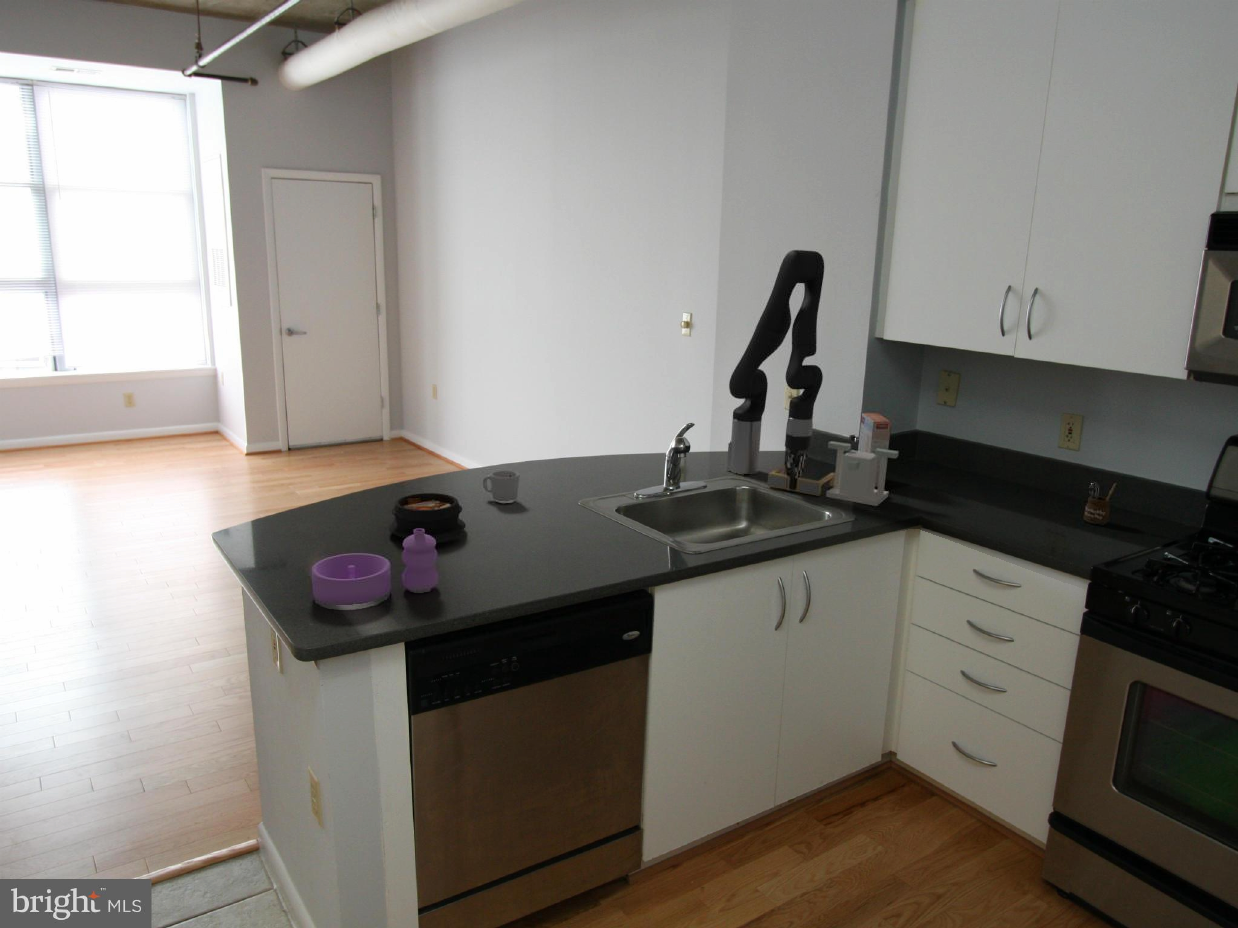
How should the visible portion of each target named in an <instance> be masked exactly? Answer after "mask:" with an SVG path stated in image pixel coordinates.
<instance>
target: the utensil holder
mask: <svg viewBox="0 0 1238 928" xmlns="http://www.w3.org/2000/svg"><path fill="white" fill-rule="evenodd" d="M1094 484H1095V486H1094V487H1095V489H1097V488H1098V489H1097V490H1098V492H1097V493H1095V494H1094V492H1089V494H1090V496H1089V497H1088V500H1087V501H1088V502H1087V503H1086V505H1085V508H1084V509H1085V510H1084V515H1083V521H1084V520H1086V521H1087V522H1090V523H1107V524H1108V521H1109V515H1110V502H1111V501H1110V499H1109V498H1110V496H1111V495H1112V493H1113V492H1114V489H1115V487H1116V485H1117V483H1116V482H1115V483H1113V485H1112V487H1111V489H1110V490H1109V492H1108V496H1107V497H1103V496H1099V493H1100V491H1099V489H1100V487H1099V485H1098V483H1097V482H1092V483H1091V484H1090V485H1089V487H1092V485H1094Z"/></svg>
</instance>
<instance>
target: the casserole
mask: <svg viewBox="0 0 1238 928" xmlns="http://www.w3.org/2000/svg"><path fill="white" fill-rule="evenodd" d="M462 511H463V506H461V505H460V503H459V500H458V499H457V498H456V497H455V496H452V495H449V494H444V493H437V492H436V493H435V492H434V493H433V492H430V493H429V492H426V493H415V494H410V495H405V496H402V497H400V498H398V499H396V501H395V504H394V506H393V508H392V509H391V513H392V515H393V516H394V519H393V521H392V522H391V524H389V526H388V531H389V532H390V533H392V534H393V535H395V536H398V537H400V538H403V539H406V538H407V537H409V536H411V535H414V529H418V528H421V529H424V530H425V533H424V534H427V535H429V536H431V537H433V538H434V539H435V541H436V544H442V543H448V542H452V541H456V540H459V539H461V538H462V537H463V533H464V530H465V529H466V526H467V525H466V523H465V521H463V519H461V518H459V517H460V513H462Z"/></svg>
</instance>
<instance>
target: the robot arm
mask: <svg viewBox="0 0 1238 928" xmlns="http://www.w3.org/2000/svg"><path fill="white" fill-rule="evenodd" d="M824 274H825V261H824V257H823V255H822V254H821V253H819V252H818V251H815V250H804V249H803V250H802V249H793V250H789V252H787V253H786V254H785V255H784V258H783V259H782V261H781V264H780V267H779V270H778V272H777V276H776V278H775V282H774V285H773V287H772V291H771V293H770V296H769V297H768V300H767V302H766V305H765V307H764V310H763V312H762V313H761V316H760V318H759V320H758V322H757V325H756V326H755V329H754V332H753V334H752V337H751V338H750V340H749V342H748V344H747V347H746V349H745V351H744V353H743V355H742V356H741V358H740V359H739V361H738V363H737V365H736V366H735V368H734V370H733V371H732V374H731V376H730V379H729V384H728V386H729V387H728V389H729V393H730V394H731V396H732V397H733V398H735V399H738V400H743V399H744V401H743V402H742V403H741V404H740V405H739V406H737V407H735V408H734V410H733V412H732V421H731V436H730V437H731V438H730V439H731V440H730V441H728V445H727V457H726V458H727V459H726V471H728V472H730V471H731V473H733V474H736V473H737V474H738V475H744V474H750V475H756V474H758V472H759V463H760V462H759V461H760V448H761V447H760V446H761V445H760V444H761V433H762V421H763V420H762V419H763V415H764V414H765V413H764V412H765V409H766V402H767V395H768V377H767V374H766V373H765V372H764V370H762V369H760V366H762V364H763V363H764V362H765V361H766V360H767V359H768V358H769V357H771V356H772V355H773V354H774V352H776V351H777V350H778V349H779V348H780V347H781V346H782V344H783V343H784V341H785V339H786V337H787V334H788V332H789V330H790V328H791V325H792V328H791V352H790V357H789V361H788V364H787V367H786V372H785V383H786V384H787V386H788V387H789V388H790V389H791V390H797V391H798V390H803V391H802V393H801V394H799V395H797V396H793V397H792V398H790V400H789V406H788V415H787V416H788V417H787V422H786V428H785V429H786V430H785V441H784V446H785V448H786V449H788V450H789V454H788V457H787V460H785V461H784V465H785V469H786V474H787V476H788V477H790V481H789V489H791V490H796V489H797V479H798V477H800V478H801V477H802V474H803V473H804V471H805V469H806V464H807V462H808V458H809V454H807V453H806V451H808V450H810V449H811V447H812V437H813V427H814V426H813V425H814V423H813V421H814V420H813V418H814V408H815V407H814V406H815V403H816V400H817V397H818V394H819V393H820V390H821V387H822V384H823V379H824V378H823V377H824V375H823V372H822V371H823V370H822V369H821V367H819V366H818V365H816V364H803V363H804V361H805V359H806V358H809V357H814V356H815V355H816V353H817V350H818V349H817V340H818V339H817V337H818V336H817V333H818V332H817V327H818V326H817V323H818V316H819V315H818V313H819V307H820V302H821V301H820V300H821V297H822V296H821V295H822V289H823V283H824ZM797 284H803V286H804V288H803V289H804V295H803V299H802V303H801V305H800V308H799V310H798V311H797V314H796V315H795V318H794V320H793V323H792V314H791V312H792V311H791V307H790V306H791V305H790V300H791V296H792V294H793V291H794V289H795V287H796V286H797ZM737 474H736V475H737ZM791 490H790V491H791Z"/></svg>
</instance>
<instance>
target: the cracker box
mask: <svg viewBox="0 0 1238 928" xmlns="http://www.w3.org/2000/svg"><path fill="white" fill-rule="evenodd" d="M891 429H892V422H891V421H890V420H888V419H887V418H886V417H885V416H883V415H882V414H880V413H875V412H874V413H873V412H862V414H861V421H860V429H859V439H858V446H857V447H858V449H857V451H860V452H867V453H873V454H875V450H876V449H878V448H879V449H886V450H889V445H890V444H889V443H890V437H891V431H892V430H891ZM880 462H881V456H878V461H877V470H876V479H875V488H878V480H879V471H880Z"/></svg>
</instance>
